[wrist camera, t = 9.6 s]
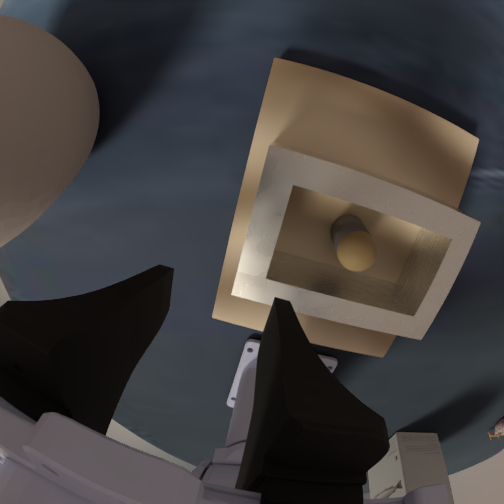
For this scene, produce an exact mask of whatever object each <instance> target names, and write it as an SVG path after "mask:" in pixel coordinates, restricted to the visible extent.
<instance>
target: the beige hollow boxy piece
mask: <svg viewBox="0 0 504 504" xmlns="http://www.w3.org/2000/svg"><path fill="white" fill-rule="evenodd" d="M293 185H295V186H298V187H302V188H305V189H309V190H312V191H316V192H319V193H322V194H325V195H329V196H332V197H335V198H338V199H342V200H345V201H348V202H351V203H354V204H357V205H360V206H363V207H366V208H369V209H372V210H375V211H378V212H381V213H384V214H386V215H389V216H392V217H395V218H398V219H400V220H403V221H406V222H409V223H411V224H414V225H417V226H419V227H420V230H419V232H418V235H417V237H416V240H415V242H414V244H413V247H412V249H411V251H410V254H409V256H408V258H407V260H406V263H405V265H404V267H403V269H402V271H401V274H400V276H399V278H398V280H397V282H396V283H392V282H389V281H385V280H382V279H378V278H375V277H371V276H368V275H364V274H360V273H357V272H353V271H350V270H346V269H343V268H339V267H335V266H332V265H328V264H325V263H321V262H317V261H314V260H310V259H307V258H303V257H299V256H296V255H292V254H289V253H285V252H281V251H278V250H274V249H275V245H276V242H277V239H278V235H279V232H280V228H281V225H282V222H283V218H284V215H285V211H286V208H287V204H288V201H289V197H290V194H291V190H292V187H293ZM480 223H481V222H479V221H478V220H476V219H475V218H473V217H471V216H470V215H468V214H467V213H465V212H463V211H462V210H460V209H458V208H457V207H455V206H453V205H452V204H450V203H448V202H446V201H444V200H441V199H439V198H437V197H435V196H432V195H430V194H428V193H425V192H423V191H421V190H418V189H416V188H413V187H411V186H409V185H406V184H404V183H401V182H398V181H396V180H393V179H391V178H388V177H385V176H383V175H380V174H377V173H375V172H372V171H369V170H366V169H363V168H361V167H358V166H355V165H352V164H349V163H346V162H343V161H340V160H337V159H334V158H331V157H327V156H324V155H321V154H318V153H314V152H311V151H308V150H304V149H301V148H297V147H294V146H290V145H286V144H283V143H279V142H275V141H274V142H272V143H271V144H270V145H269V148H268V152H267V155H266V159H265V163H264V167H263V171H262V175H261V179H260V183H259V186H258V190H257V194H256V198H255V202H254V206H253V210H252V214H251V218H250V222H249V226H248V230H247V234H246V238H245V242H244V246H243V250H242V254H241V258H240V262H239V266H238V270H237V274H236V278H235V282H234V286H233V290H232V294H231V295H234V296H238V297H241V298H245V299H249V300H252V301H256V302H260V303H263V304H267V305H271V306H272V304H273V301H274V298H275V297H277V298H280V299H284V300H288V301H290V302H291V304H292V306H293V309H294V311H295V312H298V313H302V314H306V315H310V316H314V317H318V318H323V319H327V320H331V321H335V322H339V323H344V324H348V325H352V326H357V327H361V328H366V329H370V330H375V331H379V332H384V333H389V334H394V335H398V336H403V337H408V338H413V339H418V340H422V338H423V336H424V335H425V333H426V331H427V330H428V328H429V327H430V325H431V323H432V322H433V320H434V318H435V316H436V315H437V313H438V311H439V309H440V308H441V306H442V304H443V302H444V300H445V299H446V297H447V295H448V293H449V291H450V289H451V287H452V285H453V283H454V281H455V279H456V277H457V275H458V273H459V271H460V269H461V267H462V265H463V263H464V261H465V259H466V256H467V254H468V252H469V250H470V247H471V245H472V243H473V240H474V238H475V236H476V233H477V231H478V228H479V226H480Z"/></svg>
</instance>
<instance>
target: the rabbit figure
mask: <svg viewBox="0 0 504 504" xmlns="http://www.w3.org/2000/svg"><path fill="white" fill-rule="evenodd" d="M488 431H489V432H488V434H489V437H490V438H491V437H496V436H497V437H498V439H499V436H503V435H504V418H503V419H501V420H499V421H498V422H497V423H496V426H495V434H494V435H492V434H491V432H490V430H488ZM500 432H502V433H501V434H499V433H500ZM490 440H491V439H490Z"/></svg>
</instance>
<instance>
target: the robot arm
mask: <svg viewBox="0 0 504 504" xmlns="http://www.w3.org/2000/svg"><path fill="white" fill-rule="evenodd" d="M173 272H174V269H173V268H170V267H167V266H163V265H157V266H155V267H153V268H150V269H148V270H146V271H144V272H142V273H140V274H137V275H135V276H133V277H131V278H128V279H126V280H124V281H121V282H119V283H116V284H113V285H111V286H108V287H106V288H103V289H100V290H96V291H93V292H89V293H86V294H82V295H77V296H72V297H66V298H61V299H53V300H43V301H7V302H6V303H5V304H4V305H2V306H1V307H0V466H1V468H0V504H450V503H449V498H448V494H447V489H446V484H444V483H442V484H435V485H429V486H422V487H419V488H416V489H414V490H412V491H410V492H409V493H407V494H406V495H405V496H404V497H396V498H384V499H367V500H366V499H365V500H363V488H362V485H364V484H366V482H367V477H366V472H367V471H368V470H370V469H371V468H372V467H373V466H375V465H376V464H377V463H378V462H379V461H380V460H382V458H383V457H384V456H385V455H386V454H387V453H388V451H389V448H390V444H389V438H388V431H387V427H386V423H385V420H384V418H383V417H381V416H380V415H379V414H377V413H376V412H374V411H373V410H372V409H370V408H369V407H367V406H366V405H365V404H363V403H362V402H361V401H360V400H359V399H357V398H356V397H355V396H354V395H353V394H352V393H351V392H349V391H348V390H347V389H346V388H345V387H344V386H343V385H342V384H341V383H340V382H339V380H338V379H337V378H336V377H335V376H334V375H333V374H332V373H333V371H334V370H335V368H336V366H337V364H338V362H337V359H336V358H333V357H328V356H324V355H319V354H317V353H316V352H315V350H314V348H313V347H312V345H311V344H310V342H309V340H308V338H307V336H306V334H305V332H304V330H303V328H302V327H301V324H300V322H299V320H298V318H297V316H296V313H295V311H294V309H293V306H292V304H291V302H290V301H288V300H284V299H280V298H277V297H275V298H274V301H273V304H272V307H271V310H270V313H269V316H268V319H267V322H266V324H265V327H264V330H263V333H262V336H261V341H259V340H255V339H248V340H247V341H246V344H245V347H244V350H243V353H242V356H241V360H240V363H239V366H238V369H237V372H236V375H235V378H234V381H233V384H232V387H231V391H230V394H229V397H228V400H227V405H228V406H230V407H233V413H232V417H231V422H230V426H229V431H228V435H227V440H226V444H225V448H216V449H215V453H214V457H213V461H211V460H206V461H203V462H201V463H200V464H199V465H198V466H197V467H196V468H195V469H194V470H193V471H192V473H191V472H190V471H188V470H187V469H185V468H184V467H181V466H179V465H176V464H174V463H171V462H169V461H167V460H165V459H162V458H159V457H156V456H153V455H151V454H148V453H145V452H143V451H140V450H138V449H135V448H132V447H130V446H128V445H125V444H123V443H120V442H118V441H116V440H113V439H111V438H109V437H107V436H105V435H106V432H107V429H108V427H109V424H110V422H111V419H112V417H113V414H114V411H115V409H116V407H117V404H118V402H119V400H120V397H121V395H122V393H123V390H124V388H125V386H126V384H127V382H128V380H129V378H130V376H131V374H132V372H133V370H134V368H135V367H136V365H137V363H138V362H139V360H140V359H141V357H142V356H143V354H144V353H145V351H146V349H147V348H148V346H149V345H150V343H151V342H152V340H153V339H154V337H155V336H156V334H157V333H158V331H159V329H160V328H161V326H162V324H163V322H164V320H165V317H166V315H167V313H168V311H169V306H170V297H171V288H172V280H173ZM248 348H252V350H250V349H248ZM329 366H331V367H329Z"/></svg>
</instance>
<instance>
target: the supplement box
mask: <svg viewBox="0 0 504 504" xmlns="http://www.w3.org/2000/svg"><path fill="white" fill-rule="evenodd" d="M389 444H390V448H389V451H388V453H387V454H386V455H385V456H384V457H383V458H382V460H380V461H379V462H378V463H377V464H376V465H375V466H373V467H372V468H371V469H370V470H368V475H369V487H370V499H384V498H396V497H404V496H405V495H406V494H407V493H409V492H410V491H412V490H414V489H416V488H419V487H422V486H429V485H435V484H442V483H444V484H446V489H447V494H448V498H449V503H450V504H454V501H453V496H452V491H451V487H450V482H449V478H448V473H447V469H446V465H445V462H444V458H443V454H442V450H441V447H440V443H439V440H438V436H437V433H416V432H396V433H395V434H394V435H393V437H392V438H391V439H389Z"/></svg>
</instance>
